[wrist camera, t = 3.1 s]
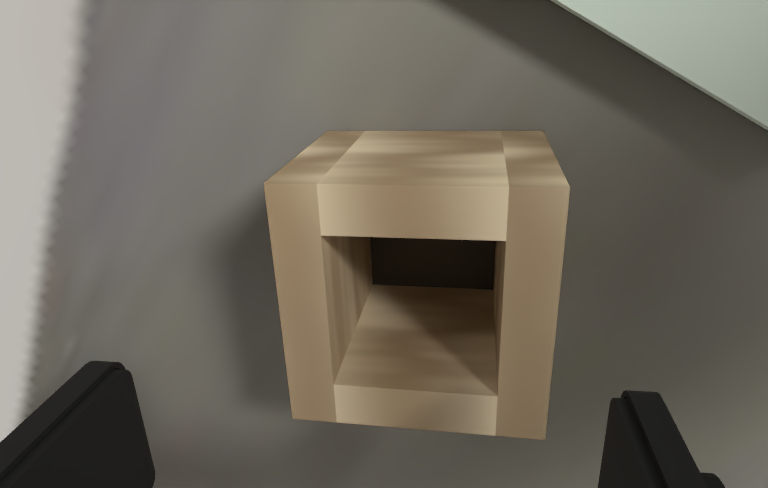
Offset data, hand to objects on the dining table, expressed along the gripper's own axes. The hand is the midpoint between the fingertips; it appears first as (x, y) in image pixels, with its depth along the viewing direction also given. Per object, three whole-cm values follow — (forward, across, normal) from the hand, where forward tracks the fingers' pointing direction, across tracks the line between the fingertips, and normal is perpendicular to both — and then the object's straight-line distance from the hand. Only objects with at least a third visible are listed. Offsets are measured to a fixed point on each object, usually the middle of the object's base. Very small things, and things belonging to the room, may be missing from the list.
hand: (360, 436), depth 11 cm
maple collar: (+10, -1, 0) cm, 10 cm away
